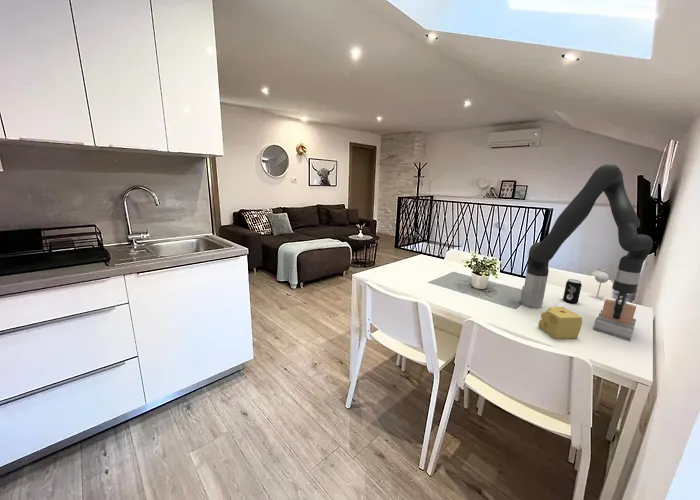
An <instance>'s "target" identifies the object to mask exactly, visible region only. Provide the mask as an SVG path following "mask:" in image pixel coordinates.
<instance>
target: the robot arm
mask: <svg viewBox="0 0 700 500" xmlns="http://www.w3.org/2000/svg"><path fill="white" fill-rule="evenodd" d="M623 177H624V174H623V172H622V170H621V169H620V168H619V166H618V165H616V164H614V163H605V164H603V165H600V166H599V167H598V168H596V169H595V170H594V172H592V174H591V176H590V177H589V178H588V180H587V181H586V183H585V185H584V186H583V187H582V189H581V190H580V191H579V192H578V194H577V195H576V196H575V197H574V198H573V199H572V200H571V201H570V203H568V205H567V206H566V207H565V208H564V209H563V210H562V211H561V213H560V214H559V216H558V217H557V218H556V220H555V222H554V223H553V226H552V228H551V230H550V232H549V233H548V234H547V236H546V237H545V238H544V239H543V240H542V241H537V242H534V243H533V244H532V245H531V246H530V248H529V251H528V257H527V264H526V265H527V266H526V274H525V281H524V285H522V289H521V293H520V299H519V303H521V304H522V305H523V306H526V307H527V308H534V309H540V308H542V307H543V304H544V297H545V291H546V287H547V281H548V276H549V273H550V270H549V269H550V268H549V263H550V261H551V260H552V259H553V258H554V256H555V255H556V253H557V252H558V250H559V249H560V248H561V247H562V245H563V243H565V241H566V240H567V239H568V238H569V237H570V236H571V235H572V234H573V233H574V232H575V231H576V230H577V228H579V227H580V225H582V224H583V222H584V221H585V220H586V219H587V217H588V216H589V215H590V213H591V212H592V209H593V208H594V206H595V204H596V201H597V200H598V199H599V197H600V196H601V195H602V193H604V194H605V196H606V198H607V200H608V202H609V206H610V210H611V213H612V214H611V215H612V217H613V220H614V222H615V225H616V228H617V236H618V237H617V238H618V244H619V246H620V248H621V249H622V250H624V251H625V252H628V253H627V254H626V255H623V256H622V257H621V258H620V259H619V262H618V267H617V270H616V272H615V275H614V278H613V279H614V280H613V284H612V286H611V287H612V290H613V291H615V292H616V294H615V296H614V298H615V299H614V301H615V303H614V305H615V308H614V314H613V318H615V319H620V315H621V312H622V311H623V310H622V309H623V307H625V304H626V303H627V301H628V300H629V297H630V295H634V294H636V293H637V289H638V286H639V283H640V279H641V272H642V269H643V268H642V267H643V264H644V262H645V261H646V259H647V258H648V256H649V255H650V253H651V251H652V249H653V245H654V241H653V239H652V237H651V236H649V235H647V234H638V232H637V229H638V228H640V226H641V222H640V219H639V217H638V215H637V213H636V211H635V208H634V206H633V205H632V202H631V201H630V199H629V196H628V195H627V192H626V188H625V184H624V182H625V181H624V178H623ZM616 307H619V308H616ZM620 308H621V309H620Z"/></svg>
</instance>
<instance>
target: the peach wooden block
mask: <svg viewBox="0 0 700 500" xmlns="http://www.w3.org/2000/svg"><path fill="white" fill-rule="evenodd" d="M614 303H615V299H609V298H605V300H604V303H603V306H602V309H601V310H602V314H601V317H603V318H607V319H610V320H614V321H617V322H621V323H625V324H628V325H631V324H632V321H633V318H634V316H635V312H636V309H637V305H634V304H630V303H627V302H626V304H625V307H623V309H622V310H623V311H622V312H621V315H620V319H615V318H613V314H614V308H615V305H614ZM616 308H619V307H616ZM620 309H621V308H620Z"/></svg>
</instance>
